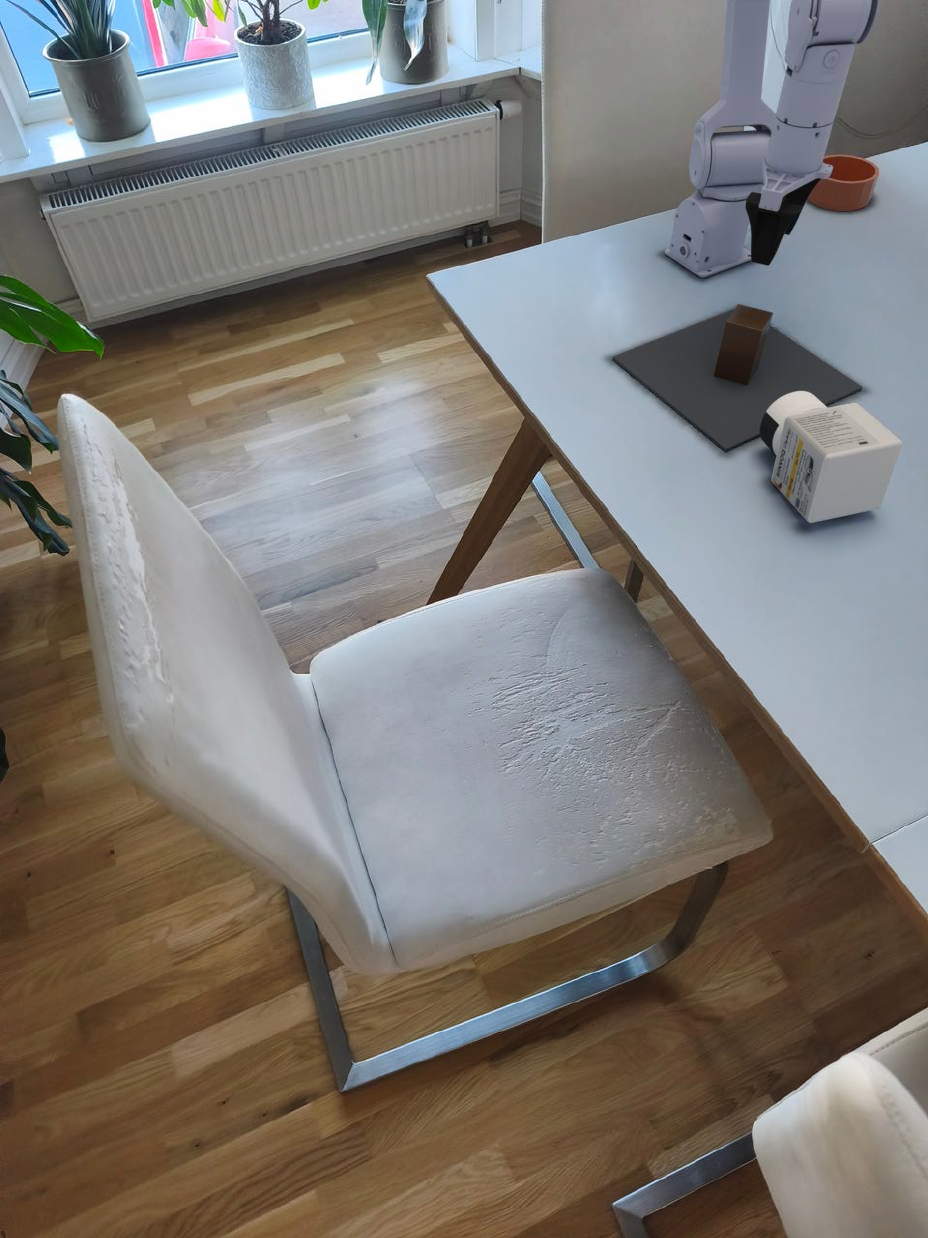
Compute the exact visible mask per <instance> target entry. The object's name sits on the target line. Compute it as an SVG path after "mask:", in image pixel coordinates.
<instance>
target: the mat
mask: <svg viewBox="0 0 928 1238" xmlns="http://www.w3.org/2000/svg"><path fill="white" fill-rule="evenodd" d="M734 309H735V308H733V309H730V310H728V311H726V312H725V311H724V312H723V313H720V314H718V315H715V316H713V317H710V318H707V319H705V320H703V321H700V322H697V323H695V324H692V325H689V326H687V327H684V328H682V329H680V330H677V331H675V332H672V333H670V334H666V335H665V336H661V337H659V338H657V339H654V340H651V341H648V342H647V343H644V344H641V345H639V346H635V347H634V348H631V349H629V350H626V351H623V352H621V353H618V354H615V355H613V356H612V359H611V360H612V361H614V362H615V363H616V364H617V365H618V366H620V368H622V369H623V370H625V371H626V373H628V374H629V375H631V376H632V377H633V378H634V379H636V381H638V382H639V383H641V384H642V385H643V386H644V387H646V389H647V390H649V391H650V392H651V393H653V394H654V395H655V396H656V397H658V398H659V399H660V400H661V401H662V402H664V404H666V405H667V406H668V407H670V408H671V409H672V410H674V411H675V412H676V413H677V414H679V415H680V416H681V417H682V418H683V419H685V420H686V421H687V422H688V423H689V424H690V425H692V426H693V427H694V428H696V429H697V430H698V431H699V432H701V433H702V434H703V435H704V436H706V437H707V438H708V439H709V440H710V441H711V442H713V443H714V444H715V445H716V446H717V447H719V448H720V449H721V450H723V451H724V452H728V451H730V450H733V449H736V448H737V447H739V446H741V445H743V444H746V443H748V442H750V441H752V440H754V439H757V438H758V437H759V438H760V437H761V436H760V424H761V421H762V418H763V416H764V414H765V412H766V411H767V409H768V408H769V407H770V406H771V405H772V404H773V403H774V402H775V401H776V400H778V399H779V398H781V397H782V396H784V395H786V394H789V393H792V392H796V391H806V392H809V393H811V394H813V395H814V396H815V397H816V398H817V399H819V400H820V401H821V402H822V403H823V404H824V405H825V406H826V407H827V406H829V405H831V404H834V403H835V402H838V401H840V400H842V399H845V398H846V397H849V396H851V395H853V394H855V393H857V392H860V391H862V390H863V386H862V385H861V384H859V383H858V382H856V381H855V380H853V379H851V378H850V377H848V376H846V374H844V373H843V372H841V371H839V370H838V369H837V368H835V367H833V366H832V365H830V364H829V363H827V362H826V361H824V360H823V359H821V358H820V357H819V356H817V355H815V353H812V352H811V351H809V350H808V349H806V348H805V347H803V346H802V345H800V344H798V342H796V341H794V340H793V339H791V338H790V337H788V336H787V335H785V334H784V333H782V332H781V331H780V330H779V329H778V330H777V329H776V328H775V327H773V326H772V325H770V326H769V330H768V333H767V337H766V341H765V344H764V348H763V352H762V355H761V359H760V362H759V366H758V368H757V370H756V372H755V373H754V375H753V377H752V378H751V380H750V382H749V384H748V385H744V384H740V383H737V382H733V381H730V380H726V379H723V378H719V377H715V376H714V372H715V368H716V363H717V359H718V355H719V350H720V346H721V342H722V337H723V333H724V329H725V324H726V321H727V320H728V318H729V317H730V315H731V314H732V312H733V311H734Z"/></svg>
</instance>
